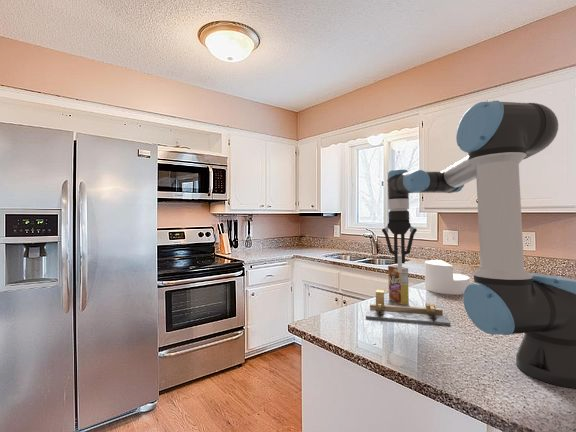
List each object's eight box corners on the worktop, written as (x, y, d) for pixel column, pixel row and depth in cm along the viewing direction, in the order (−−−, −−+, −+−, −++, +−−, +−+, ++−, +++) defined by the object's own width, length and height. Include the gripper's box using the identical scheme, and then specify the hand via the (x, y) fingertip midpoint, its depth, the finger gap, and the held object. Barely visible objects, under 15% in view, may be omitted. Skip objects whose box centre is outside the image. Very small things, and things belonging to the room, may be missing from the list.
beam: (445, 322, 114) (445, 309, 114) (369, 316, 122) (368, 304, 122) (441, 314, 123) (441, 302, 123) (370, 309, 131) (370, 298, 131)
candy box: (387, 299, 145) (387, 265, 145) (396, 299, 146) (395, 264, 146) (400, 305, 136) (400, 268, 136) (409, 304, 137) (408, 268, 137)
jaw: (383, 316, 120) (383, 296, 120) (375, 315, 121) (375, 295, 121) (384, 309, 129) (384, 290, 129) (376, 308, 130) (376, 289, 130)
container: (476, 295, 151) (476, 266, 151) (430, 293, 155) (430, 265, 154) (461, 285, 171) (461, 260, 171) (421, 284, 174) (420, 259, 174)
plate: (450, 325, 111) (450, 322, 111) (365, 318, 119) (365, 315, 119) (446, 318, 119) (446, 315, 119) (367, 312, 127) (367, 309, 127)
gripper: (416, 210, 127) (417, 271, 127) (381, 211, 131) (382, 270, 131) (417, 209, 120) (419, 274, 120) (380, 210, 124) (382, 273, 123)
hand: (399, 272), depth 125 cm, fingers closed
